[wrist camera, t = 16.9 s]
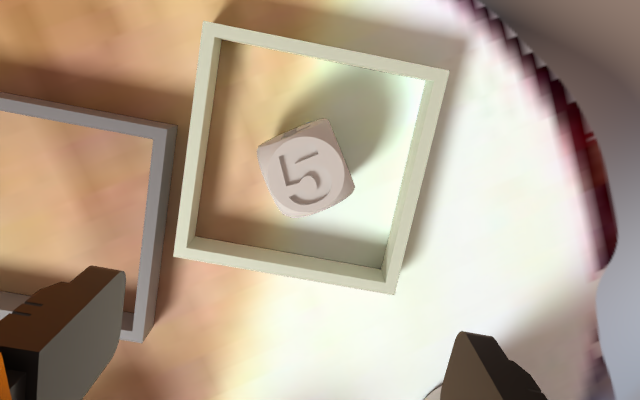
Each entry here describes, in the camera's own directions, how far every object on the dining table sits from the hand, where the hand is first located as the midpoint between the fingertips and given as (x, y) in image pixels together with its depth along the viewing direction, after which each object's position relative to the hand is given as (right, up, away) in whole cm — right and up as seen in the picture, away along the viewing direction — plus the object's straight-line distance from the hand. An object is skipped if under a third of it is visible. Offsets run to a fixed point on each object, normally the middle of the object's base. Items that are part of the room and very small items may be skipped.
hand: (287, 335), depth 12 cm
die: (0, +6, +24) cm, 24 cm away
